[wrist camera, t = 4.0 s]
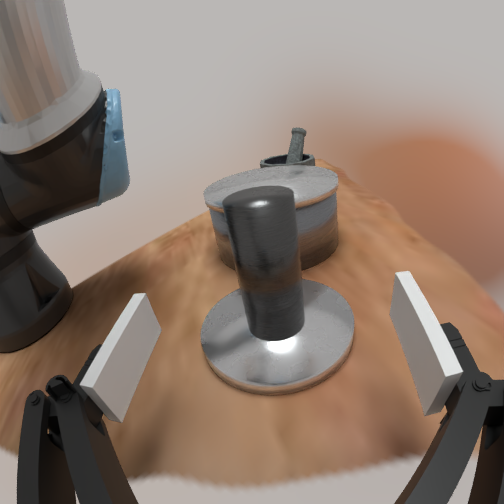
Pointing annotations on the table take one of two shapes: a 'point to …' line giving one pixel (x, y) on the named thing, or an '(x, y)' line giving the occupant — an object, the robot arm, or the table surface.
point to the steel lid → (273, 304)
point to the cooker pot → (306, 203)
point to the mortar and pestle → (292, 153)
